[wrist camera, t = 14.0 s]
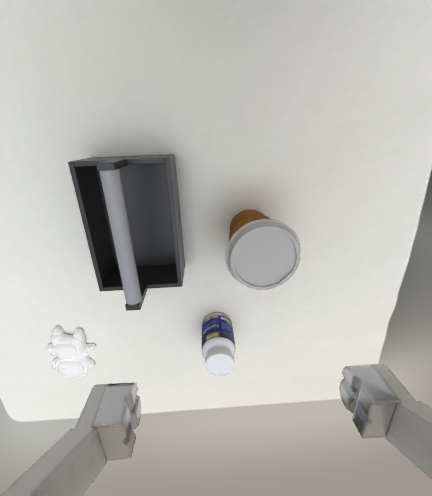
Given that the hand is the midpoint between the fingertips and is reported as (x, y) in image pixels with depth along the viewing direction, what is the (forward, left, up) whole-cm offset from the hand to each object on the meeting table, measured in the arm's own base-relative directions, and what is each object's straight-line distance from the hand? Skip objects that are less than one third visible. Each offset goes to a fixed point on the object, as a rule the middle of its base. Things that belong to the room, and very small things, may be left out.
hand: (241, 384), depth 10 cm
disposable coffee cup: (+5, +6, -33) cm, 34 cm away
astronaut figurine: (+28, -28, -33) cm, 52 cm away
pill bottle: (+24, 0, -33) cm, 41 cm away
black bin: (+2, -11, -33) cm, 35 cm away
